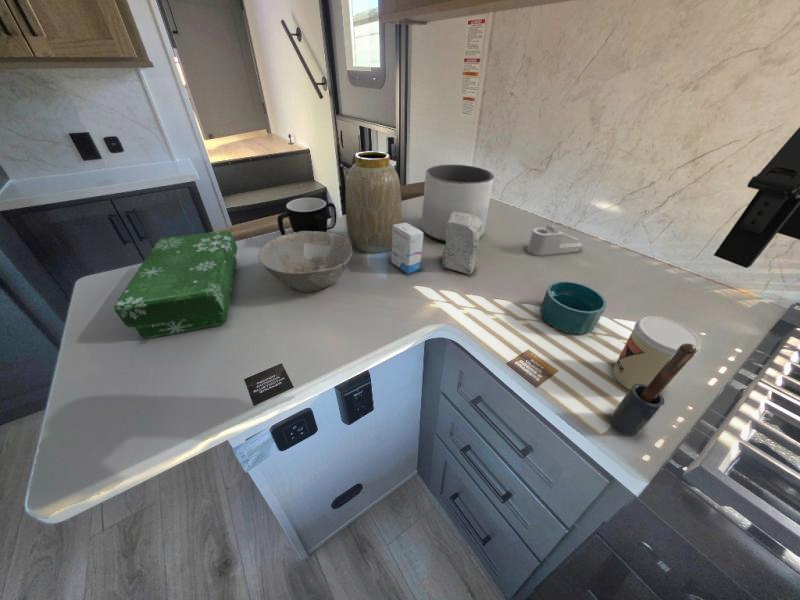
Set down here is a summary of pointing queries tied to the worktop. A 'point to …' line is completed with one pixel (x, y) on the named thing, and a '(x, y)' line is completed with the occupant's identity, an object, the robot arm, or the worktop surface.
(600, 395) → the worktop surface
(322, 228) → the mug
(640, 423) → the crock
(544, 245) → the grey mounting bracket
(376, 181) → the vase
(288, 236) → the ceramic bowl
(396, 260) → the ink box
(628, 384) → the coffee cup
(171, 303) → the box
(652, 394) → the stick
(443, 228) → the planter
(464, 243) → the decorative stone
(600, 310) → the teal bowl
